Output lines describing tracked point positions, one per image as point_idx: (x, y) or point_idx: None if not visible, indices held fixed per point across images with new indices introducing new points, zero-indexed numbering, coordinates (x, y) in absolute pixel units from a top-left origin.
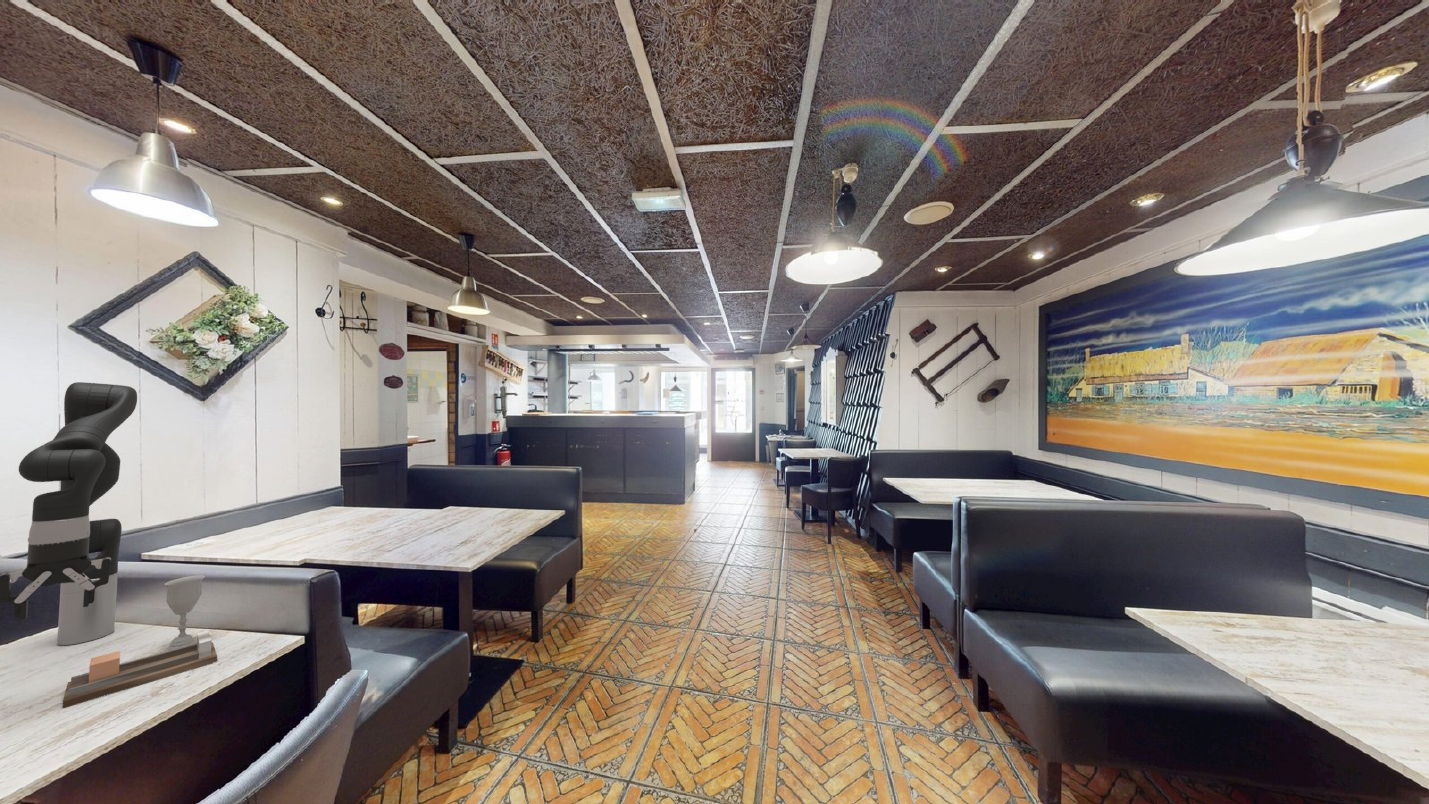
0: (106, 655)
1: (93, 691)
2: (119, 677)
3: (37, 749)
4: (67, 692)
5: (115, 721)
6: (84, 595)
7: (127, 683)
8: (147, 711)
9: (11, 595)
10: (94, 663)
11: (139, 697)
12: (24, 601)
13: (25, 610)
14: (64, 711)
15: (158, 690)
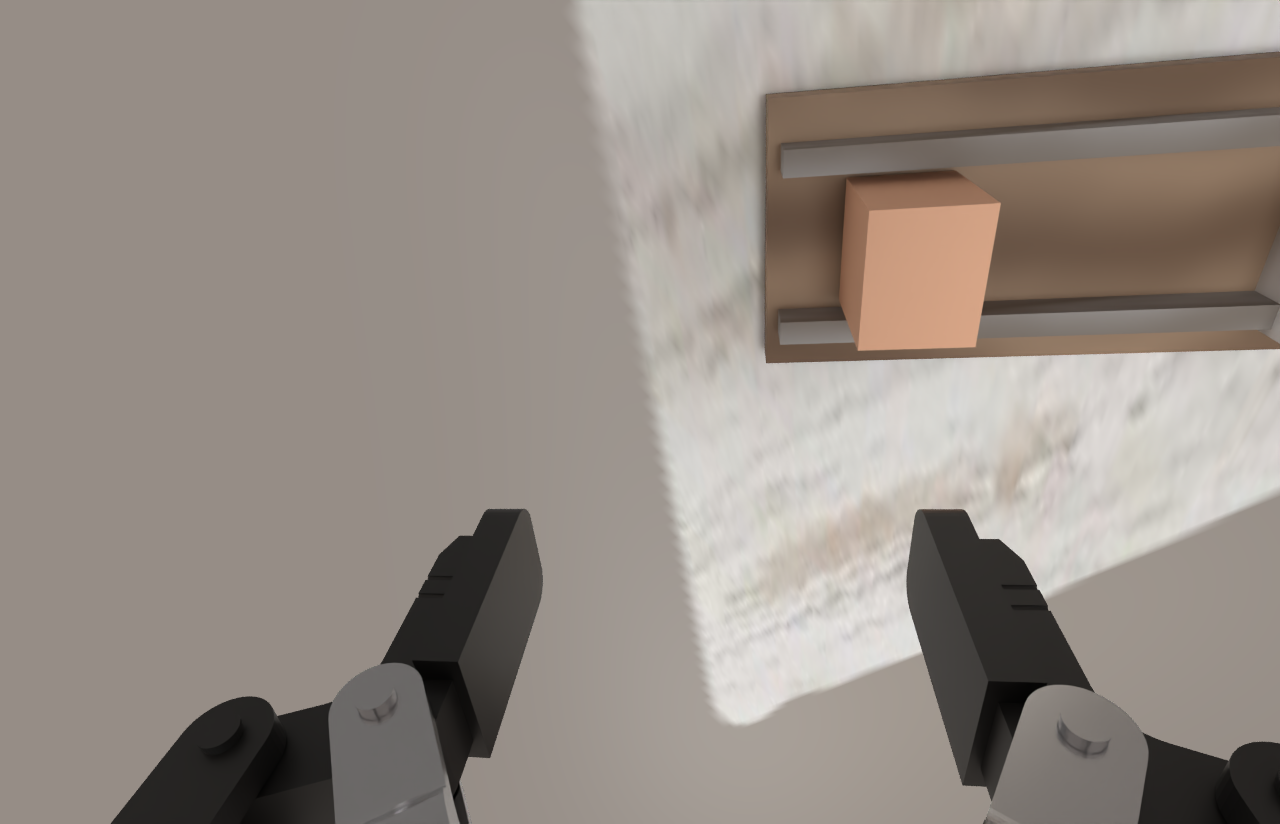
0: (934, 230)
1: (852, 349)
2: None
3: (735, 600)
4: (774, 265)
5: (887, 592)
6: (951, 722)
7: (957, 356)
8: None
9: (284, 820)
10: (877, 333)
11: (965, 470)
12: (461, 753)
13: (513, 664)
14: (772, 384)
15: (1023, 460)
